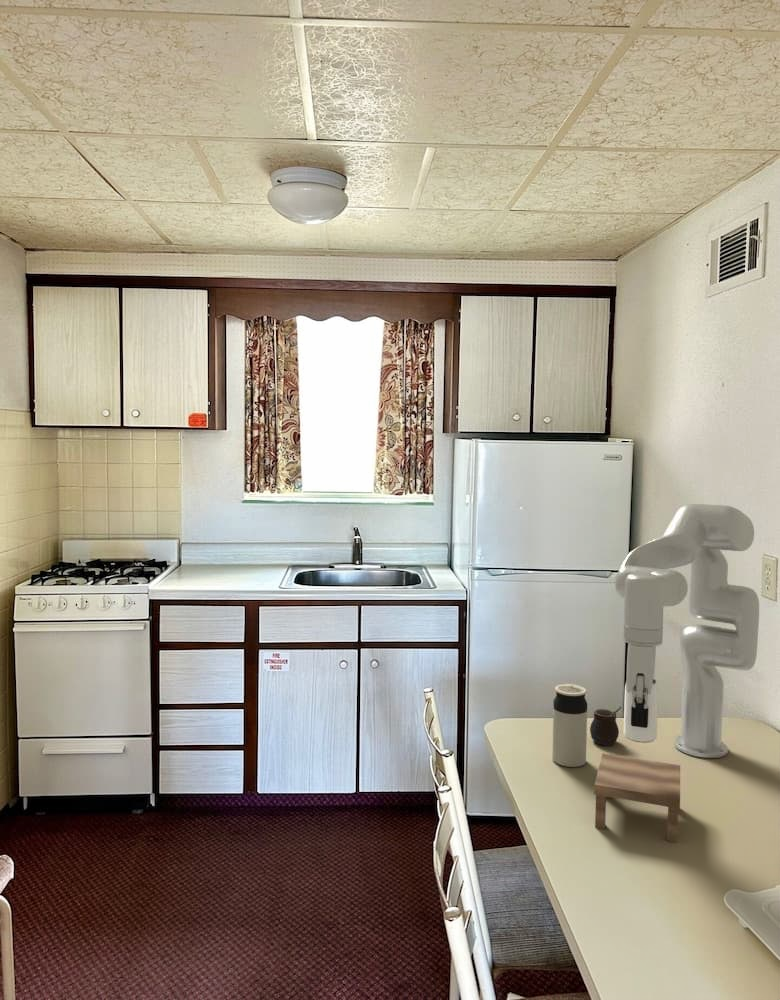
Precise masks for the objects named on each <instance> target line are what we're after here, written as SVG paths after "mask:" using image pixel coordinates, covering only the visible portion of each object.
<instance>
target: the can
mask: <svg viewBox="0 0 780 1000" xmlns="http://www.w3.org/2000/svg"><path fill="white" fill-rule="evenodd" d="M636 690H637V689H636V686H635V691H636ZM643 692H646V690H644V689H643ZM643 698H644V699H645V696H643ZM623 702H624V703H623V704H624V706H623V735H624V736H625V738H626V739H628V740H630V741H632V742H637V743H643V744H644V743H645V744H646V743H652V742H654V741H655V740H656V739H657V737H658V736H657V735H658V713H659V712H658V711H659V710H658V706H659V688H658V686H657V680H656V679H653V685H652V690H651V693H650V694H649V695H648V696H647V708H648V727H647V728H643V727H635V726H632V725H631V706H633V690H632V691H629V692H627V691H626V684H625V685H624V700H623Z"/></svg>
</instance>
